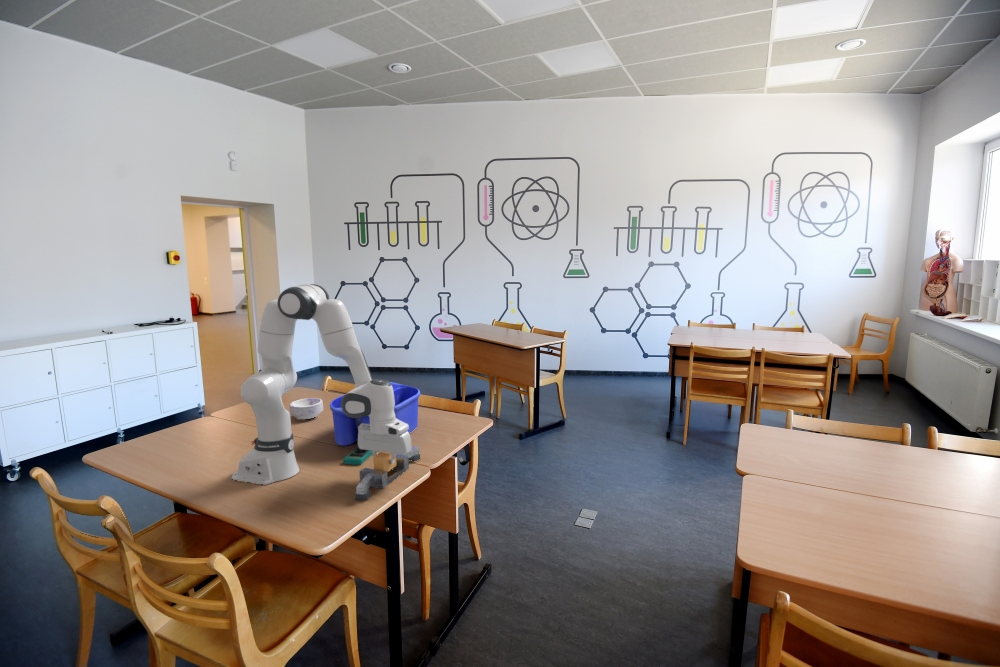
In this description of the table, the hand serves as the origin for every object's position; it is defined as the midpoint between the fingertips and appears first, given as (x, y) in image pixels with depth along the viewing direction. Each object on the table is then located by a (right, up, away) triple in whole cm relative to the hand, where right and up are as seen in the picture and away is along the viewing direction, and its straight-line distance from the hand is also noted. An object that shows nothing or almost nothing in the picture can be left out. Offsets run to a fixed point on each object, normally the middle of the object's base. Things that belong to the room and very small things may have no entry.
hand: (385, 462), depth 178 cm
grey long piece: (0, -5, +1) cm, 5 cm away
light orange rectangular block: (0, -2, 0) cm, 2 cm away
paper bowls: (-54, +4, +69) cm, 87 cm away
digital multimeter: (-14, -3, +19) cm, 23 cm away
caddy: (-13, +1, +45) cm, 47 cm away
